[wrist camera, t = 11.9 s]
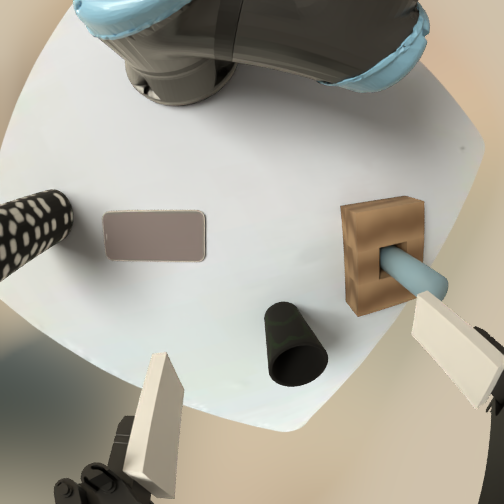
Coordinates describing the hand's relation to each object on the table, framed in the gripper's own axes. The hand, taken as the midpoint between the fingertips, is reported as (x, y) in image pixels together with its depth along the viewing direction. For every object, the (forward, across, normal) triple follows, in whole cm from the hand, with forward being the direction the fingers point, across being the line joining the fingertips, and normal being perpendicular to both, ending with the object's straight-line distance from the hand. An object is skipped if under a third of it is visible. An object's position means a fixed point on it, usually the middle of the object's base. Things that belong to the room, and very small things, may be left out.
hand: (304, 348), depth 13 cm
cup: (+27, +2, -16) cm, 31 cm away
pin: (+25, +19, -8) cm, 33 cm away
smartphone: (+27, -14, +1) cm, 31 cm away
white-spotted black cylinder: (+27, -30, +8) cm, 41 cm away
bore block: (+27, +19, -8) cm, 34 cm away
